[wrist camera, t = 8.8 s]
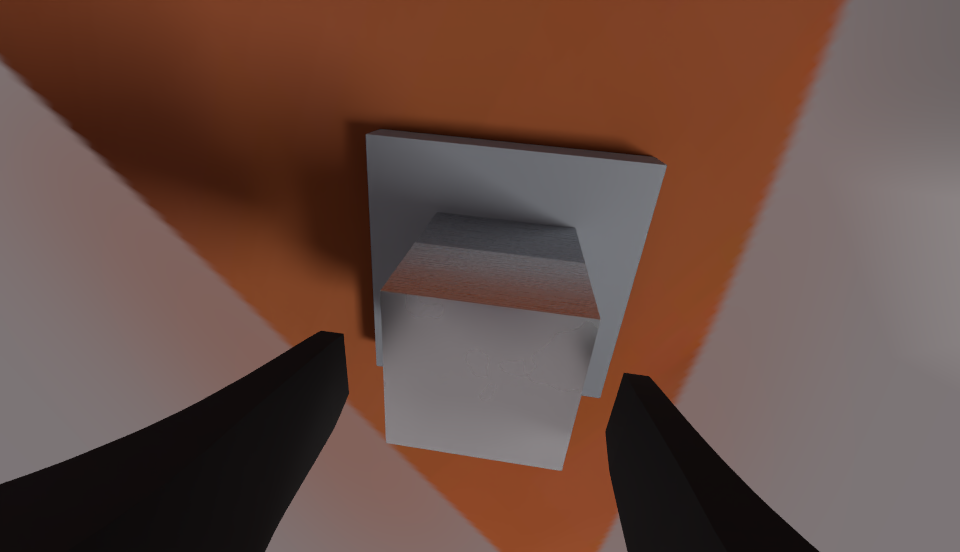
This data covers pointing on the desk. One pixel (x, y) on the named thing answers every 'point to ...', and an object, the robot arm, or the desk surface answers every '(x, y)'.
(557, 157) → the stand
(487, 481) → the desk surface
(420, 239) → the block
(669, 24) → the desk surface
